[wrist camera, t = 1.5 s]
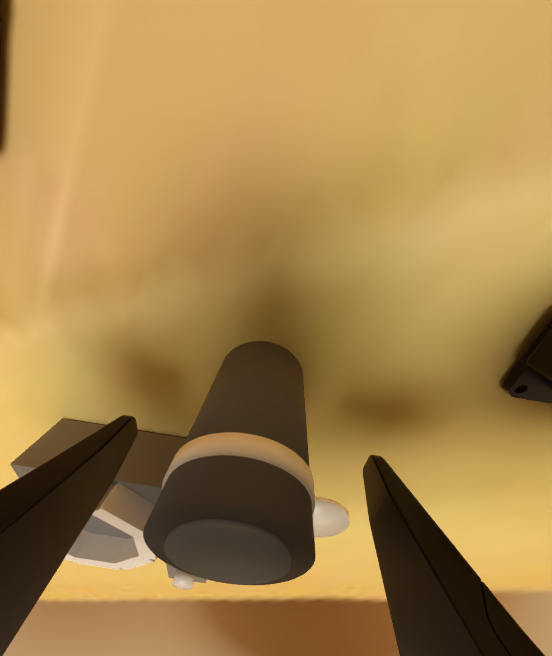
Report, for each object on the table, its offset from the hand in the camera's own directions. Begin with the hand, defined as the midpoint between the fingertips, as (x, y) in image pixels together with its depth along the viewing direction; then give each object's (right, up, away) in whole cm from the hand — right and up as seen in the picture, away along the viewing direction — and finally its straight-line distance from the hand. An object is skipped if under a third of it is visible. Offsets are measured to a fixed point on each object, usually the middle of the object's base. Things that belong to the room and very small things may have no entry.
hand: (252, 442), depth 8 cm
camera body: (-8, -6, +8) cm, 13 cm away
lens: (0, +2, +4) cm, 4 cm away
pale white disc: (+4, -11, +10) cm, 15 cm away
